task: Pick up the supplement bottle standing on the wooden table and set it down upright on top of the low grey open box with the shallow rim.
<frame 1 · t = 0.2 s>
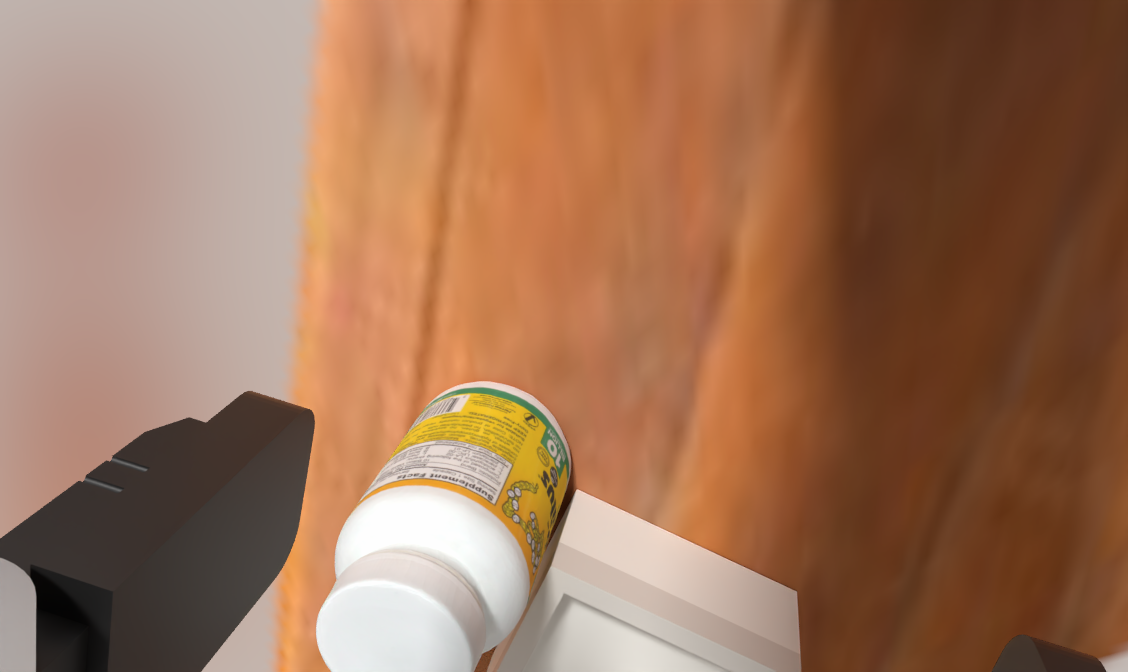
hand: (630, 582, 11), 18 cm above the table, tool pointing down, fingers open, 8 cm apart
supplement bottle: (496, 447, 31), on the table
grey open box: (637, 623, 33), on the table
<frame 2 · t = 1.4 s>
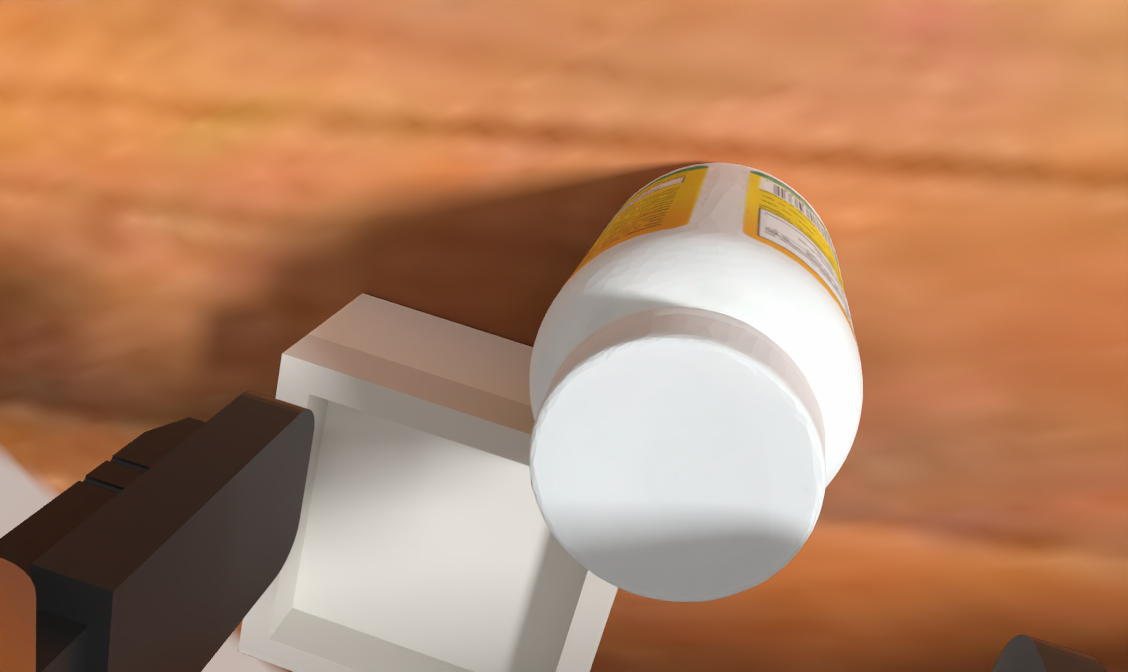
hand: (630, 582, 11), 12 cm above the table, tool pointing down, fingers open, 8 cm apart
supplement bottle: (713, 273, 21), on the table
grey open box: (481, 479, 24), on the table
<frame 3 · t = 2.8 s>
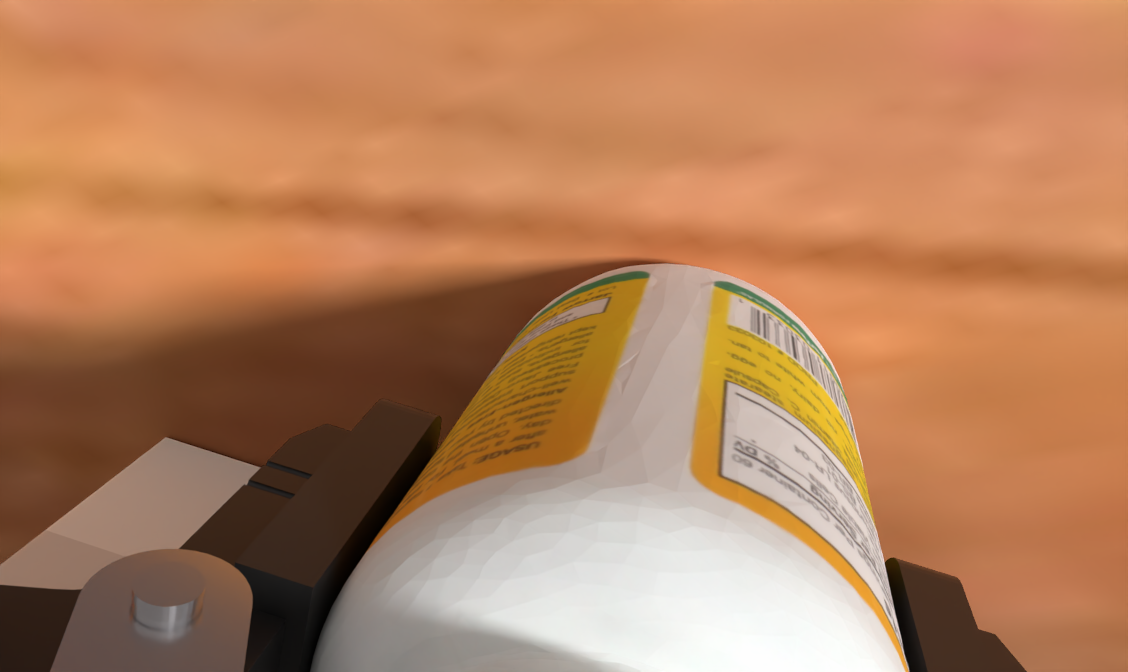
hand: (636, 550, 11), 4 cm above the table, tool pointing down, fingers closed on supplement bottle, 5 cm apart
supplement bottle: (664, 418, 15), on the table, touching gripper
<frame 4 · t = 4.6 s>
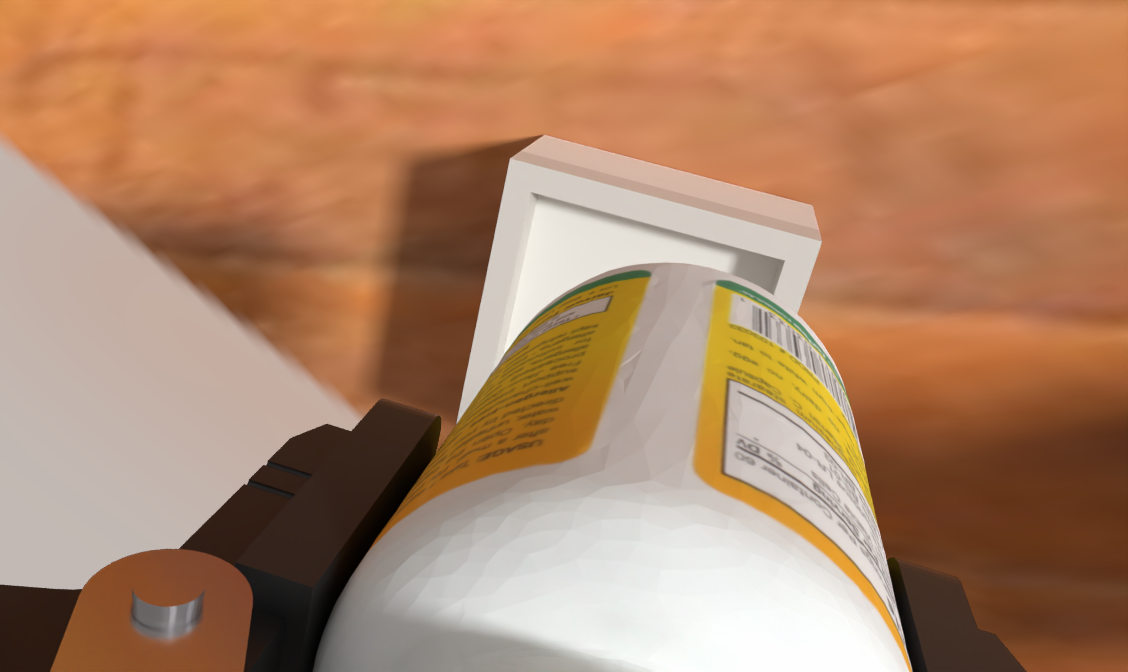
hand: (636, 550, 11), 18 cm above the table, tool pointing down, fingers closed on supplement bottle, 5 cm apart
supplement bottle: (666, 417, 15), point 14 cm above the table, touching gripper
grey open box: (642, 296, 29), on the table
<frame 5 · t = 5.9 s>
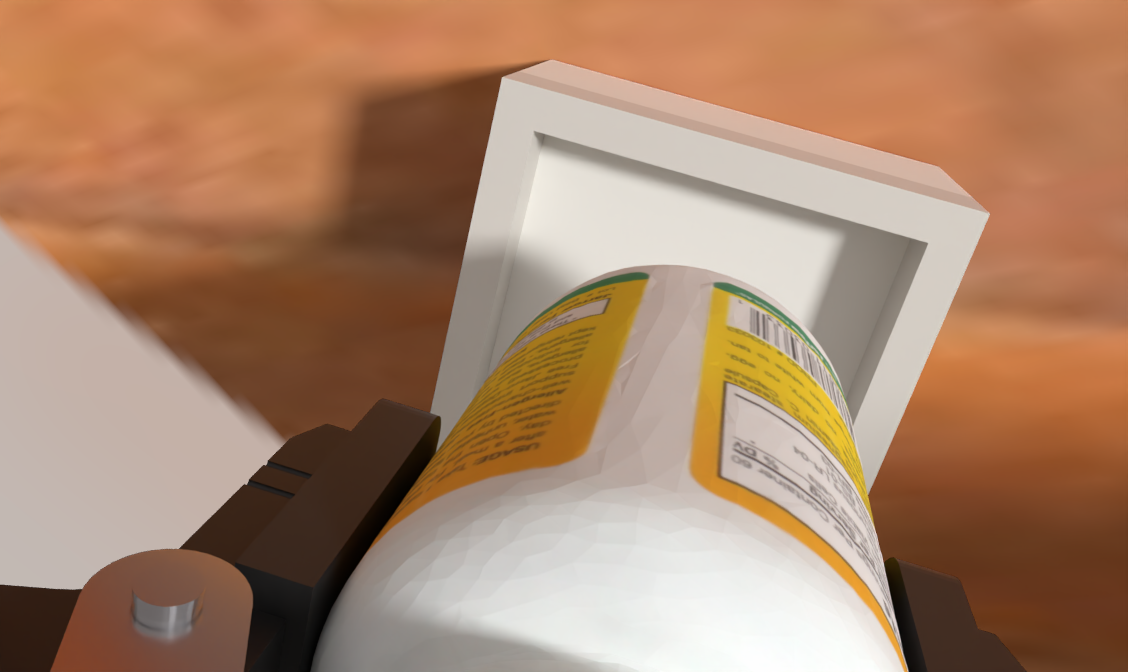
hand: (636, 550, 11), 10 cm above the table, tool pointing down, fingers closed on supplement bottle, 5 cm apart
supplement bottle: (664, 418, 15), point 6 cm above the table, touching gripper
grey open box: (684, 294, 20), on the table
when the fingers open (7 cm above the table, at t = 6.9 s): supplement bottle stays where it is, resting on grey open box.
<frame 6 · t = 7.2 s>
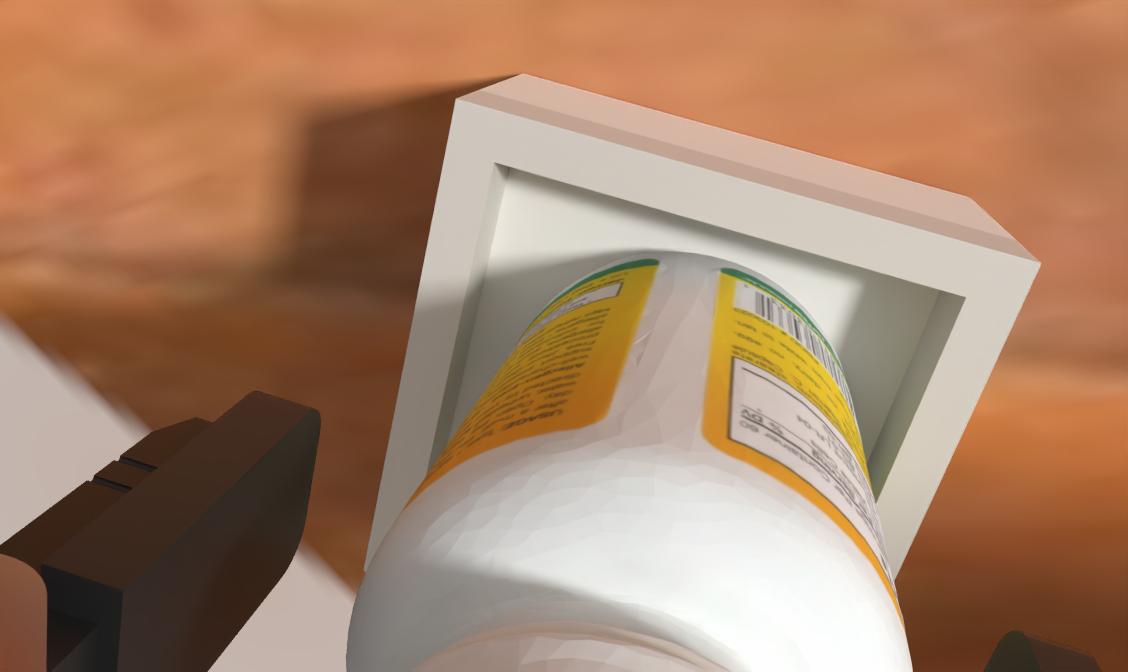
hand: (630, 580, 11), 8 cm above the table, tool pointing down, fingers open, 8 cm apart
supplement bottle: (672, 400, 15), point 3 cm above the table, touching grey open box
grey open box: (677, 339, 18), on the table
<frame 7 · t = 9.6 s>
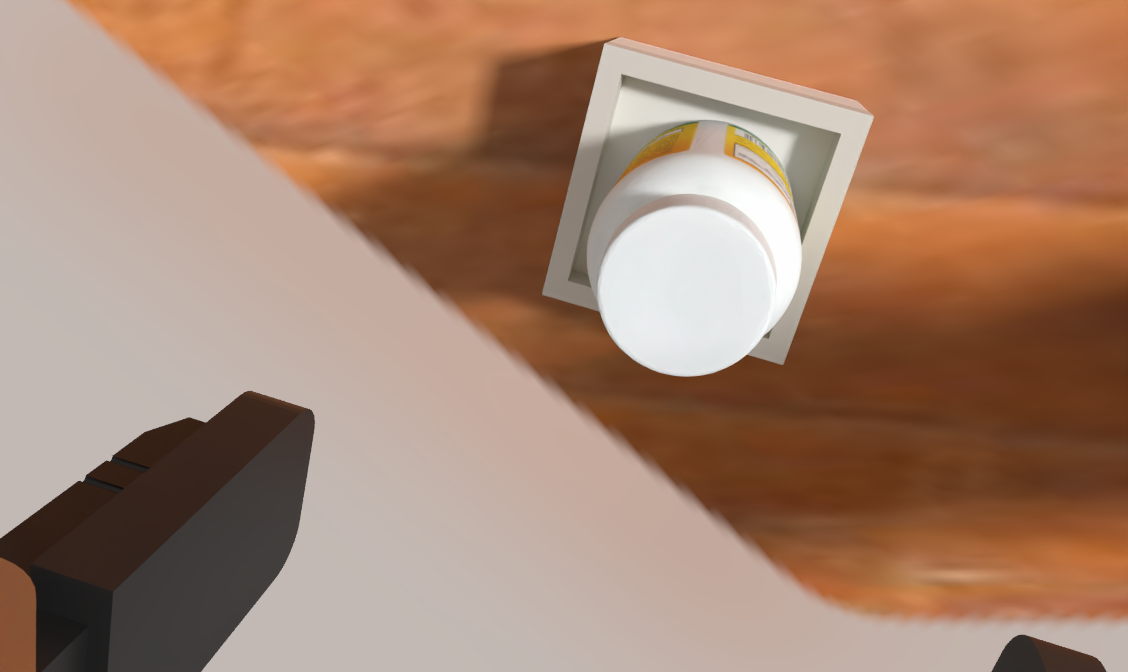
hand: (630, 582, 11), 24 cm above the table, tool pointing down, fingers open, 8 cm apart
supplement bottle: (702, 202, 30), point 3 cm above the table, touching grey open box
grey open box: (702, 184, 32), on the table
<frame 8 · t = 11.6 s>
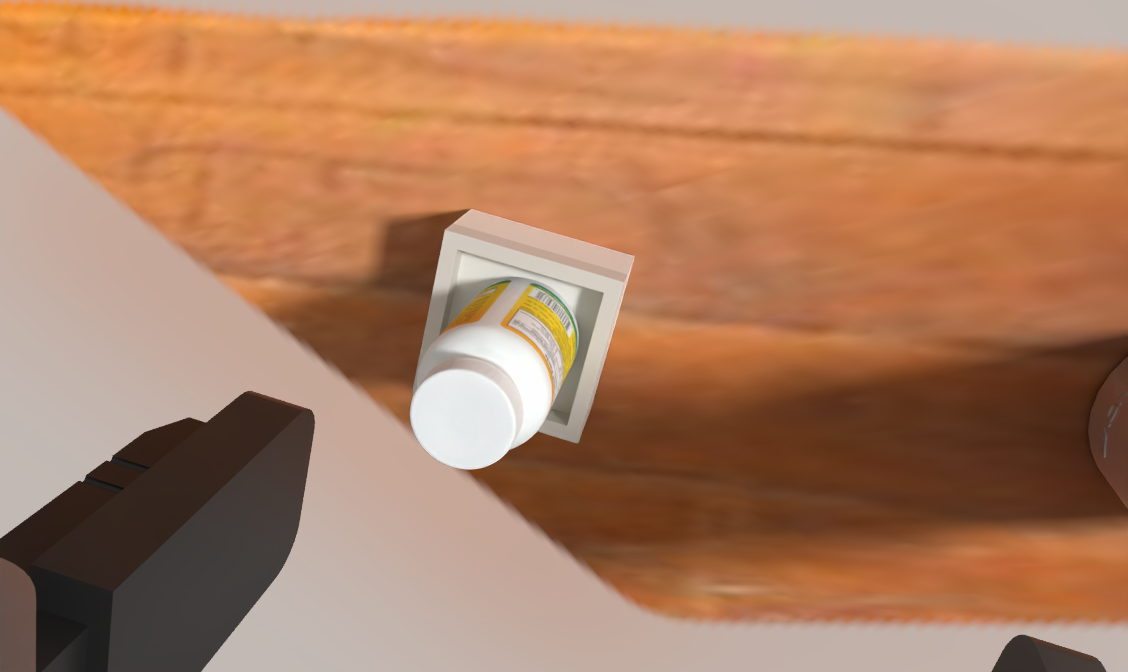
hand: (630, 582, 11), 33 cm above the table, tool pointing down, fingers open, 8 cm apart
supplement bottle: (522, 329, 43), point 3 cm above the table, touching grey open box
grey open box: (533, 309, 45), on the table
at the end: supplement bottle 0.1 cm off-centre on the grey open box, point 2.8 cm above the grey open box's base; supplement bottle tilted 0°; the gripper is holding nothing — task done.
